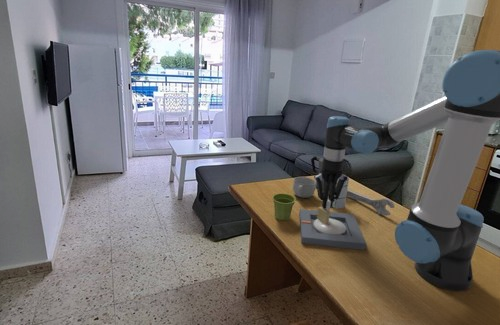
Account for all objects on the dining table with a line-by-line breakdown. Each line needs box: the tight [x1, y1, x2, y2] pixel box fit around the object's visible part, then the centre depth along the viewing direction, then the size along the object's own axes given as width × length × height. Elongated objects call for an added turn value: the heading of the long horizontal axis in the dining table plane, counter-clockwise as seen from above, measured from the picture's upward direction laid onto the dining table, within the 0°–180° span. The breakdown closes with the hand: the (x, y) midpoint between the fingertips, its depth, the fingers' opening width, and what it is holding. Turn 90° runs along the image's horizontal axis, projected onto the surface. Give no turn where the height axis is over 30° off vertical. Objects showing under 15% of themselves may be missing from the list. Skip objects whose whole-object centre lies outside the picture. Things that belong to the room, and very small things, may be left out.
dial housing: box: [298, 208, 367, 251], centre depth 116 cm, size 22×22×3 cm
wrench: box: [346, 189, 395, 216], centre depth 138 cm, size 8×2×30 cm
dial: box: [314, 206, 346, 235], centre depth 115 cm, size 12×12×6 cm
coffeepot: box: [310, 156, 330, 190], centre depth 155 cm, size 15×9×18 cm, turn 55°
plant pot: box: [272, 192, 297, 221], centre depth 123 cm, size 9×9×9 cm
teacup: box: [292, 176, 316, 199], centre depth 144 cm, size 14×11×8 cm
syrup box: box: [328, 177, 350, 210], centre depth 135 cm, size 6×6×14 cm
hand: (325, 215), depth 120 cm, fingers closed
